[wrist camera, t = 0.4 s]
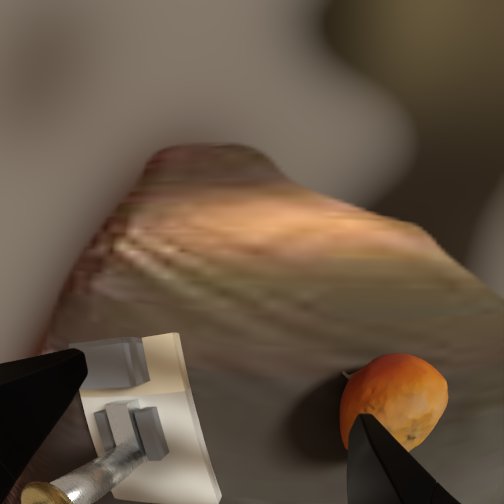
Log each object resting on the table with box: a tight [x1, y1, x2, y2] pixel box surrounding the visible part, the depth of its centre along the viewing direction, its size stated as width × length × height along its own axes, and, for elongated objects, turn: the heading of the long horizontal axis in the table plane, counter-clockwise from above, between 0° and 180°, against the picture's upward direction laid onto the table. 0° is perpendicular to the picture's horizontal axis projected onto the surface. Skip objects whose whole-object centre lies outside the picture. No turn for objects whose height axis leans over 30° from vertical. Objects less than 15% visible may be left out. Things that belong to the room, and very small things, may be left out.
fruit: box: [340, 353, 448, 452], centre depth 17 cm, size 8×8×8 cm
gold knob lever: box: [21, 399, 148, 504], centre depth 12 cm, size 6×3×13 cm, turn 13°
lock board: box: [69, 333, 222, 504], centre depth 17 cm, size 15×10×5 cm, turn 12°
